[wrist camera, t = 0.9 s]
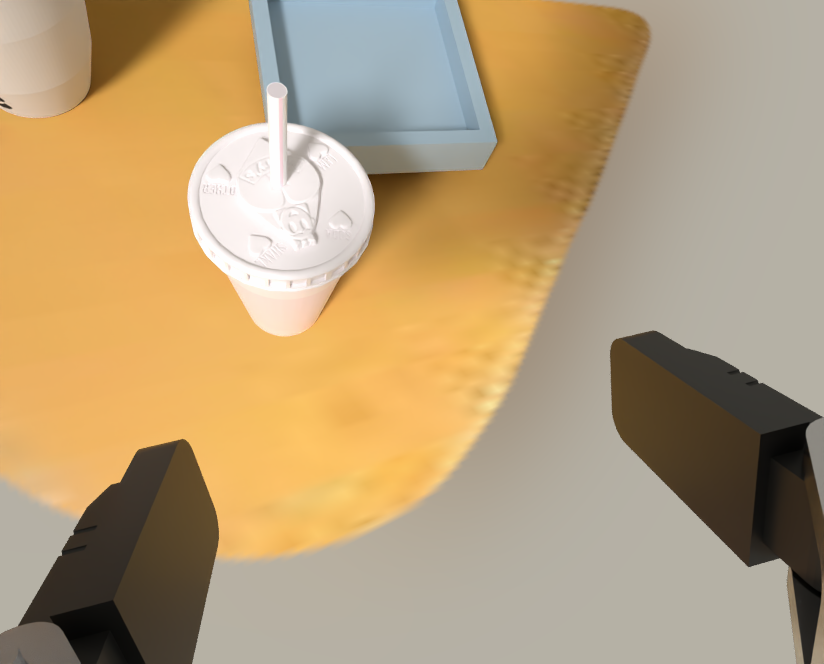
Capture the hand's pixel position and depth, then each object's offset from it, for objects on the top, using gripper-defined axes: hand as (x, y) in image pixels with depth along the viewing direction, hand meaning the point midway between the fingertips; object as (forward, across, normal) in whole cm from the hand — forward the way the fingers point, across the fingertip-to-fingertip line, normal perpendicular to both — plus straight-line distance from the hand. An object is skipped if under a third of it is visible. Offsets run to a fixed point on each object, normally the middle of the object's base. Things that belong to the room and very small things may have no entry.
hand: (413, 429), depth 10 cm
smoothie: (+18, +4, +3) cm, 19 cm away
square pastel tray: (+26, -3, -6) cm, 27 cm away
